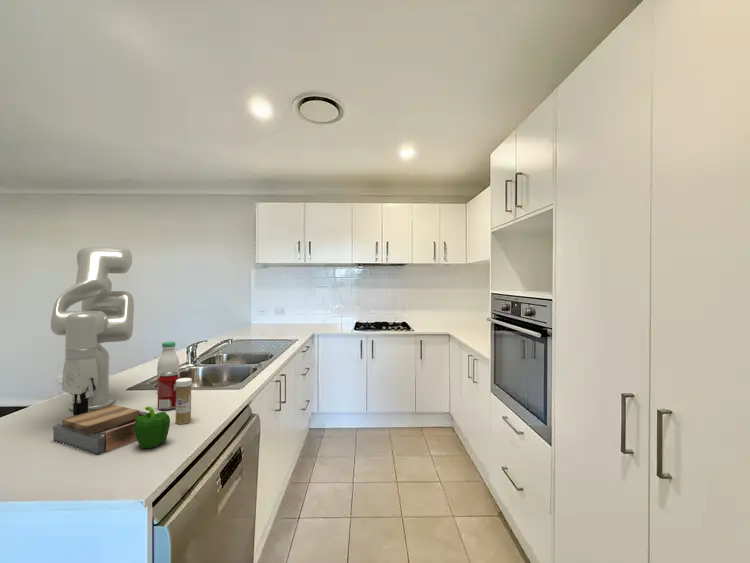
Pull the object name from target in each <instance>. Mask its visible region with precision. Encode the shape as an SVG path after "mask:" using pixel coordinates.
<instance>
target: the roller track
mask: <svg viewBox="0 0 750 563" xmlns="http://www.w3.org/2000/svg"><path fill="white" fill-rule="evenodd" d="M147 413H148V412H146V411H142V410H139V416H142V415H145V414H147ZM135 421H136V419H135V420H132V421H130V422H127V423H124V424H121V425H118V426H115V427H112V428H109V429H106V430H103V431H100V432H97V433H94V434H93V433H89V432H86V431H82V430H78V429H75V428H71V427H68V426H64V425H62V423H61V424H57V425H54V426H53V429H52V430H53V431H52V433H53V435H52V438H53V440H54V441H53V440H52V441H53V442H55V441H57V443H59V442H61V443H60V444H62V443H64V444H63V445H65V444H67V445H66V446H68V445H70V446H69V447H71V446H73V447H72V448H74V447H76V448H75V449H77V448H79V449H78V450H81V449H82V450H81V451H84V450H85V451H84V452H87V451H88V452H87V453H90V452H91V453H90V454H93V453H94V455H96V454H97V455H96V456H99V455H102V454H104V453H107V452H110V450H111V451H113V450H115V448H116V449H118V448H121V447H123V446H122V445H124V446H126V445H128V443H129V444H131V443H134V442H136V441H137V438H136V435H135V430H134V424H135ZM133 441H134V442H133ZM130 442H131V443H130ZM125 444H126V445H125ZM120 446H121V447H120ZM117 447H118V448H117ZM112 449H113V450H112ZM101 453H102V454H101Z"/></svg>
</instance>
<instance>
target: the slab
mask: <svg viewBox="0 0 750 563" xmlns="http://www.w3.org/2000/svg"><path fill="white" fill-rule="evenodd" d="M139 411H140V410H138V409H134V408H132V407H131V408H130V407H126V406H121V405H116V404H111V405H109V406H106V407H103V408H99V409H95V410H89V411H88V412H87V413H83V414H80V415H76V416H73V415H72V416H70V417H65V418H63V419H61V425H64V426H68V427H71V428H75V429H78V430H82V431H86V432H89V433H93V434H94V433H97V432H100V431H103V430H106V429H109V428H112V427H115V426H118V425H121V424H124V423H127V422H130V421H132V420H135V419H137V417H138V416H139Z"/></svg>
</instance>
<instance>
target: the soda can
mask: <svg viewBox="0 0 750 563" xmlns="http://www.w3.org/2000/svg"><path fill="white" fill-rule="evenodd" d="M177 379H181V377H180V375H179V376H178V372H164V373H161V374H160V377H159V379H158V393H157V409H159V410H161V411H170V410H174V409H176V380H177Z"/></svg>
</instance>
